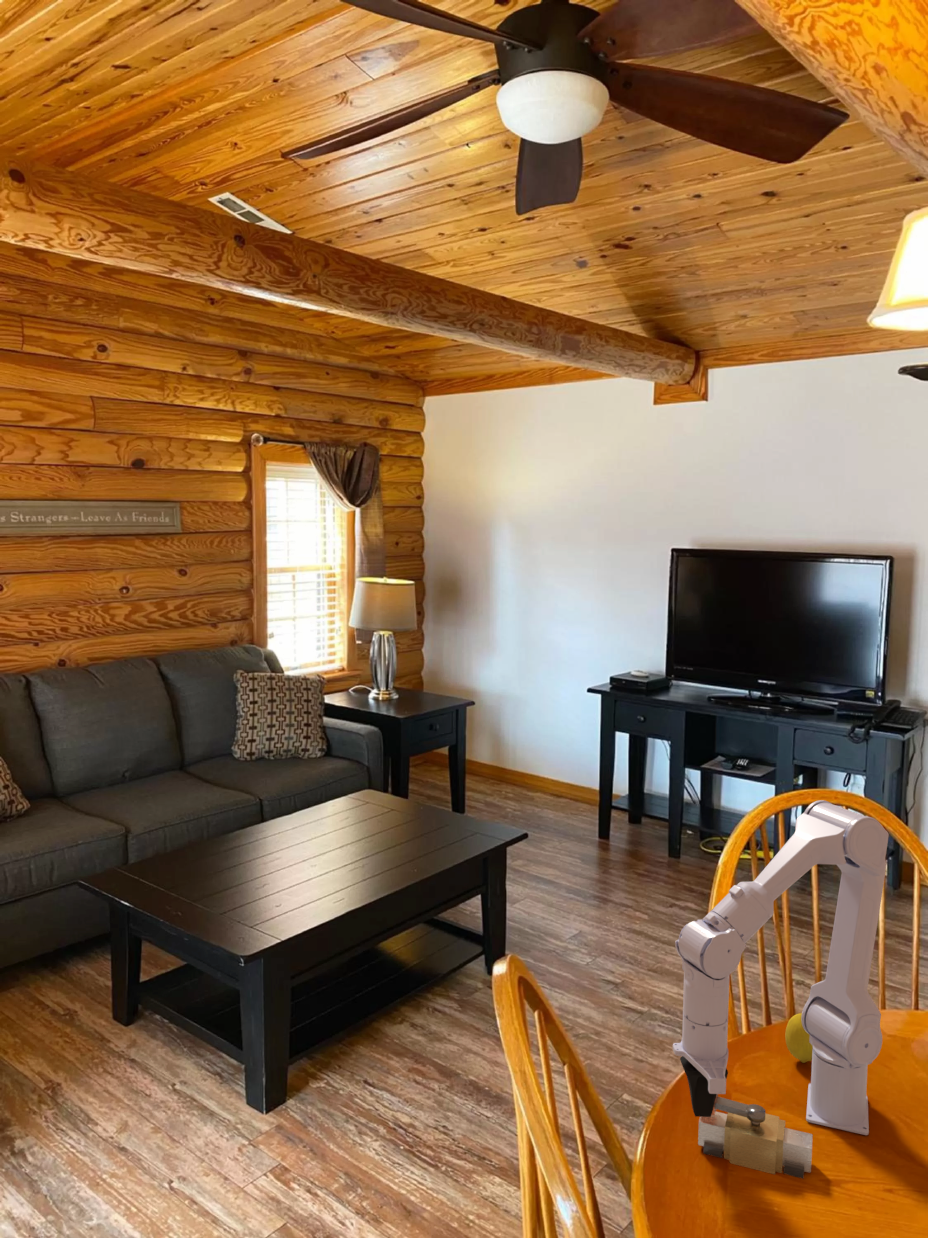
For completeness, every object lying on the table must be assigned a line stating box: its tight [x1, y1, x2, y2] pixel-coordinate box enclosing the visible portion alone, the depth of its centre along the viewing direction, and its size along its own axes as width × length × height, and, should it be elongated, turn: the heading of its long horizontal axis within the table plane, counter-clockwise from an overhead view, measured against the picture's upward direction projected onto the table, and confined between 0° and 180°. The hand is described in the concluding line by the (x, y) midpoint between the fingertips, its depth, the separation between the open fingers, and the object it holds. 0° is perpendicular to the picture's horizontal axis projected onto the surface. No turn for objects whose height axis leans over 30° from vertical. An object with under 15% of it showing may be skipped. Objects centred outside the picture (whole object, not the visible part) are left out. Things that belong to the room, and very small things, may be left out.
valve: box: [697, 1111, 814, 1179], centre depth 121 cm, size 6×14×5 cm, turn 68°
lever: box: [711, 1094, 766, 1123], centre depth 123 cm, size 8×2×2 cm, turn 63°
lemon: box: [784, 1012, 813, 1064], centre depth 143 cm, size 6×6×8 cm
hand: (702, 1114), depth 122 cm, fingers closed
